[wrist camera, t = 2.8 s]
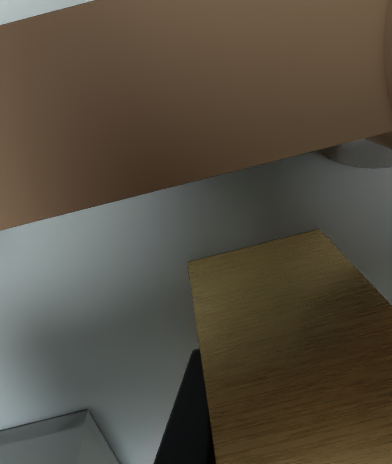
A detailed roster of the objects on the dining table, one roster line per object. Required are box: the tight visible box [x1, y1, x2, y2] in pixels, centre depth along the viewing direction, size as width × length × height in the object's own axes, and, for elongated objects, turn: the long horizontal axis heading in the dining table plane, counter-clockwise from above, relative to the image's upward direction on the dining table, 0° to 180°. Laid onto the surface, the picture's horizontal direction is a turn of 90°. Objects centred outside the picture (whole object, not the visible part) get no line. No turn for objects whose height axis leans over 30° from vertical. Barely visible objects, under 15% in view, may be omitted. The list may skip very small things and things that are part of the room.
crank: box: [0, 0, 392, 230], centre depth 6 cm, size 16×5×3 cm, turn 103°
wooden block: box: [187, 229, 392, 464], centre depth 7 cm, size 4×4×8 cm
